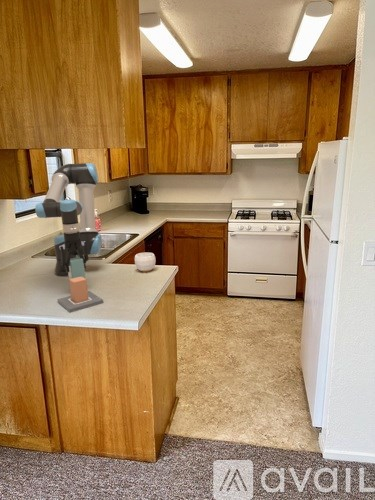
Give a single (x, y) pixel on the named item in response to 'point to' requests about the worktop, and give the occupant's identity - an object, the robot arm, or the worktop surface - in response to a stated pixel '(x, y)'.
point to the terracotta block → (78, 289)
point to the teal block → (77, 267)
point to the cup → (145, 261)
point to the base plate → (74, 306)
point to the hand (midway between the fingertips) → (76, 276)
